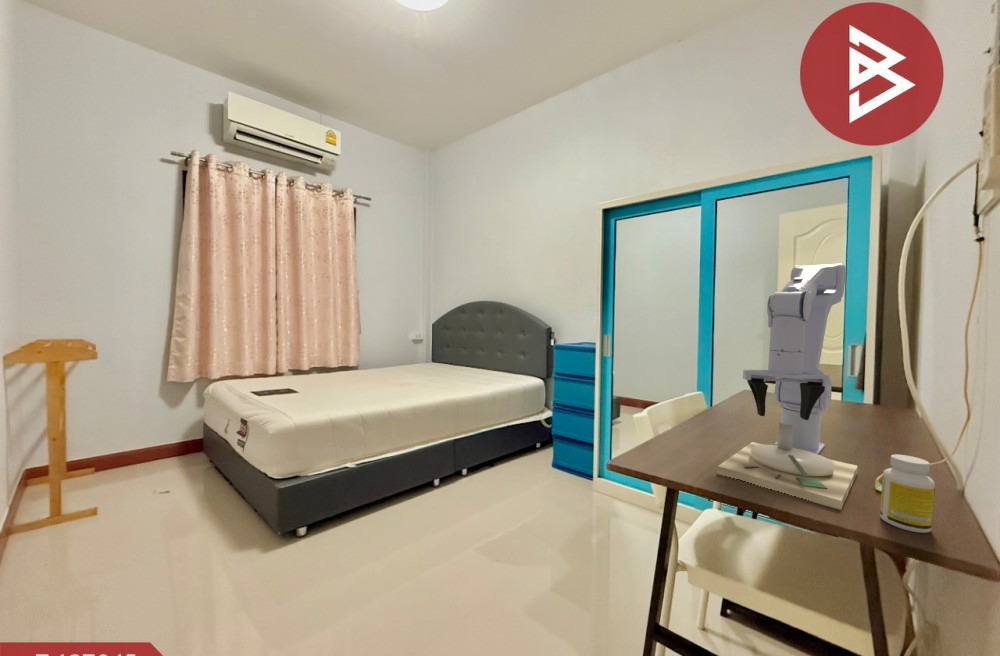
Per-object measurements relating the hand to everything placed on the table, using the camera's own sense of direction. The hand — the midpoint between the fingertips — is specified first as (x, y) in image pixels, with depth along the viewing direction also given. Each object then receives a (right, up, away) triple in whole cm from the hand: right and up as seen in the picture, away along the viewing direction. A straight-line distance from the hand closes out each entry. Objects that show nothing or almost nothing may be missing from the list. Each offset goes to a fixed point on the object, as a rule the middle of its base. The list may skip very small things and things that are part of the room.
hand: (782, 416), depth 82 cm
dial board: (-2, -10, -5) cm, 11 cm away
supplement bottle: (+2, -11, -23) cm, 25 cm away
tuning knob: (-3, -8, -7) cm, 11 cm away
